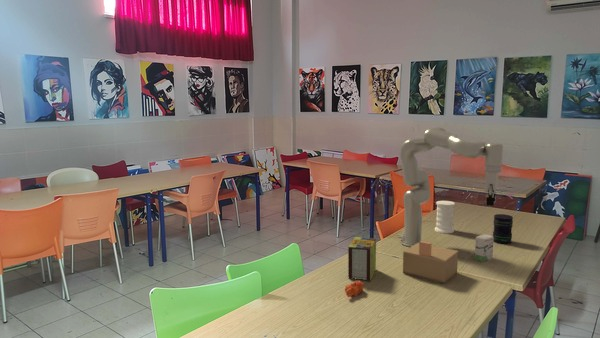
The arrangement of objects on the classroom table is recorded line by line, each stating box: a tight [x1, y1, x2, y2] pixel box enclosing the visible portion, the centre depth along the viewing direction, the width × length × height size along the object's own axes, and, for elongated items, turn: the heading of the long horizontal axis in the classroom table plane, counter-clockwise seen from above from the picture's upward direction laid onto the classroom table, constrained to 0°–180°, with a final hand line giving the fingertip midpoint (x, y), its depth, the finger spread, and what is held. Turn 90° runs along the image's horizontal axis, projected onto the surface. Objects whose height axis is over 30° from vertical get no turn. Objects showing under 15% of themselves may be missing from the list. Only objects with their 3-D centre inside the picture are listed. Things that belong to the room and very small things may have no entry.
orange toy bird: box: [344, 280, 365, 298], centre depth 188 cm, size 5×8×12 cm
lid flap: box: [402, 240, 459, 262], centre depth 207 cm, size 20×16×7 cm
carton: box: [402, 252, 459, 285], centre depth 208 cm, size 20×16×10 cm
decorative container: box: [434, 200, 456, 235], centre depth 274 cm, size 12×12×18 cm
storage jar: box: [492, 213, 514, 245], centre depth 252 cm, size 10×10×15 cm
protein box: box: [347, 236, 377, 282], centre depth 208 cm, size 10×15×16 cm
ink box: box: [474, 233, 494, 262], centre depth 226 cm, size 9×5×12 cm, turn 123°
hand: (490, 203), depth 216 cm, fingers open, 9 cm apart
